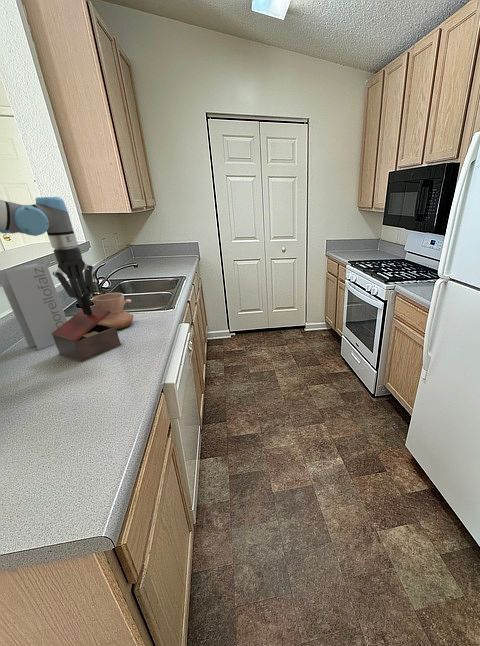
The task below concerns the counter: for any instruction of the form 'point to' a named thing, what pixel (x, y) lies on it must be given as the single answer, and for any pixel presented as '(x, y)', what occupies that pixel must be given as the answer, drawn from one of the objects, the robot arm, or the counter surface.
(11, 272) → the white lettered carton
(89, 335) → the block
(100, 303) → the ceramic jug
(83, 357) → the book box
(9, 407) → the counter surface
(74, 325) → the cover
